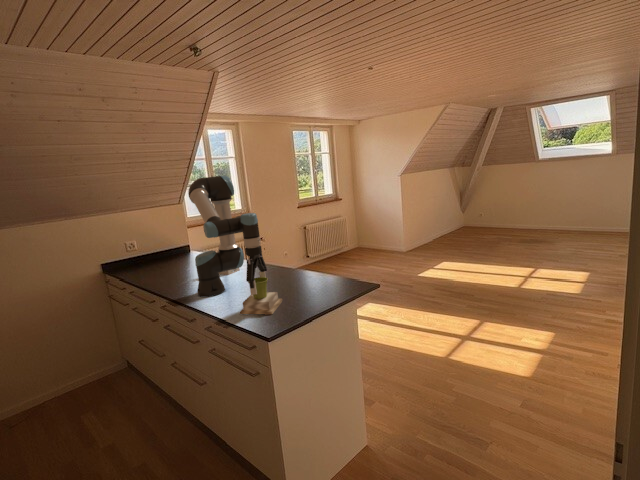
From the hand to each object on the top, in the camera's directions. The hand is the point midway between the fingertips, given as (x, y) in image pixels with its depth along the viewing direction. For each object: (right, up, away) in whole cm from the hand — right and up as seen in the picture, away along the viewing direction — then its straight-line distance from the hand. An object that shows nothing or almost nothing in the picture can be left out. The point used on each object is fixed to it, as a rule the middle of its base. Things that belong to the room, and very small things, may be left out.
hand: (259, 289), depth 175 cm
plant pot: (0, -4, +1) cm, 4 cm away
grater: (-33, +1, +74) cm, 81 cm away
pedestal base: (+1, -9, +2) cm, 10 cm away
